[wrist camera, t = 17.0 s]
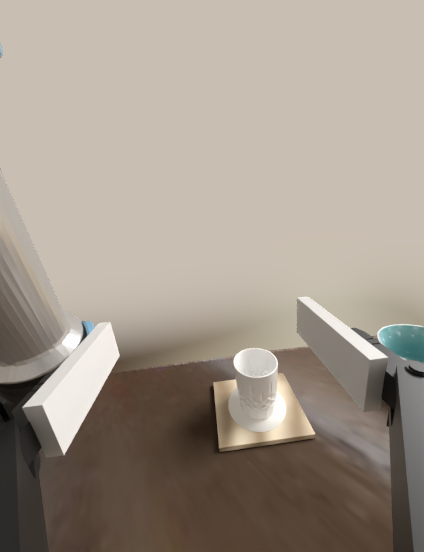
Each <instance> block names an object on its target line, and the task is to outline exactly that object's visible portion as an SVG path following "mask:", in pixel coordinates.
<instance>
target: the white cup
mask: <svg viewBox="0 0 424 552" xmlns="http://www.w3.org/2000/svg"><path fill="white" fill-rule="evenodd" d="M233 364H234V371H235V377H236V384H237V389H238V394H239V398H240V405H241V408H242V410H243V412H244V413H245V414H246V415H248V416H249V417H250V418H254V419H257V420H261V419H267V418H268V417H270V416H271V415H273V413H274V411H275V409H276V396H277V375H278V362H277V359H276V357H275V356H274V355H273V354H272V353H271V352H269V351H267V350H264V349H260V348H249V349H245V350H242V351H240V352H239V353H238V354H237V355H236V356H235V357H234V360H233Z"/></svg>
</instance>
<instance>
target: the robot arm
mask: <svg viewBox="0 0 424 552" xmlns="http://www.w3.org/2000/svg"><path fill="white" fill-rule="evenodd" d="M1 56H2V48H1V45H0V58H1ZM297 332H298V334H299V335H300V336H301V337H302V339H303V340H304V341H305V342H306V343H307V345H308V346H309V347H310V348H311V349H312V351H313V352H314V353H315V354H316V355H317V357H318V358H319V359H320V360H321V361H322V363H323V364H324V365H325V366H326V367H327V369H328V370H329V371H330V372H331V373H332V375H333V376H334V377H335V378H336V379H337V381H338V382H339V383H340V384H341V386H342V387H343V388H344V389H345V390H346V392H347V393H348V394H349V395H350V396H351V398H352V399H353V400H354V401H355V402H356V404H357V405H358V406H359V407H360V408H361V410H362V411H363V412H368V411H375V410H380V409H381V402H382V399H383V400H384V401H385V402H386V403H387V404H388V405H389V406H390V408H389V414H388V420H387V426H388V427H389V435H390V463H391V490H392V518H393V546H394V552H424V363H421V362H418V361H414V360H404V359H402V358H401V357H400V356H398V355H397V354H395V353H394V352H393V351H391V350H390V349H388V348H387V347H386V346H384V345H383V344H380V342H379V341H377V340H376V339H374V338H373V337H372V336H370V335H369V334H367V333H365V332H364V331H362V330H359V329H357V328H349V327H348V326H346V325H345V324H344V323H342V322H341V321H340V320H338V319H337V318H336V317H334V316H333V315H332V314H330V313H329V312H328V311H326V310H325V309H324V308H322V307H321V306H320V305H318V304H317V303H316V302H315V301H313V300H312V299H311V298H309V297H299V298H297ZM119 356H120V355H119V352H118V348H117V345H116V341H115V337H114V334H113V331H112V326H111V323H110V322H104V323H99V324H98V325H97V326H96V327H94V325H93V323H92V322H90V321H86V322H85V321H82V322H80V320H79V319H78V318H77V316H75V315H74V314H72V313H69V312H67V311H63V310H62V308H61V305H60V304H59V301H58V299H57V296H56V294H55V292H54V290H53V287H52V285H51V283H50V281H49V278H48V277H47V274H46V272H45V269H44V267H43V265H42V263H41V261H40V258H39V256H38V254H37V251H36V249H35V247H34V244H33V242H32V240H31V238H30V235H29V233H28V231H27V229H26V227H25V224H24V222H23V220H22V217H21V215H20V213H19V211H18V208H17V206H16V204H15V202H14V199H13V197H12V195H11V193H10V191H9V188H8V186H7V184H6V181H5V179H4V177H3V175H2V172H1V170H0V552H49V550H48V542H47V535H46V527H45V519H44V511H43V504H42V496H41V488H40V481H39V473H38V472H39V468H40V456H39V454H38V452H39V450H40V449H42V451H43V453H44V455H45V457H46V458H48V457H55V456H62V455H64V454H65V453H66V451H67V449H68V447H69V445H70V444H71V442H72V440H73V438H74V436H75V435H76V433H77V431H78V429H79V427H80V426H81V424H82V422H83V420H84V418H85V417H86V415H87V413H88V411H89V410H90V408H91V406H92V404H93V402H94V401H95V399H96V397H97V395H98V393H99V392H100V390H101V388H102V386H103V384H104V383H105V381H106V379H107V377H108V375H109V374H110V372H111V370H112V368H113V366H114V365H115V363H116V361H117V359H118V357H119Z"/></svg>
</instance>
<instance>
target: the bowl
mask: <svg viewBox="0 0 424 552" xmlns="http://www.w3.org/2000/svg"><path fill="white" fill-rule="evenodd" d="M377 339H378V341H379V342H380V344H383V345H384V346H386V347H387V348H388V349H390V350H391V351H393V352H394V353H395V354H397V355H398V356H400V357H401V358H402V359H404V360H414V361H418V362H421V363H424V327H423V326H417V325H408V324H397V325H389V326H386V327H383V328H381V329H380V330H379V331H378V333H377Z"/></svg>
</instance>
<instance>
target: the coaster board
mask: <svg viewBox="0 0 424 552" xmlns="http://www.w3.org/2000/svg"><path fill="white" fill-rule="evenodd" d="M213 384H214V395H215V406H216V418H217V429H218V441H219V451H220V452H224V451H231V450H237V449H244V448H251V447H258V446H265V445H272V444H278V443H285V442H292V441H299V440H306V439H313V438H315V433H314V431H313V429H312V427H311V425H310V423H309V421H308V419H307V417H306V416H305V414H304V412H303V410H302V408H301V406H300V404H299V402H298V400H297V399H296V397H295V395H294V393H293V391H292V389H291V387H290V385H289V383H288V382H287V380H286V378H285V376H284V374H283V373H279V374H278V375H277V396H276V409H275V411H274V413H273V415H271V416H270V417H268V418H267V419H261V420H257V419H254V418H250V417H249V416H248V415H246V414H245V413H244V412H243V410H242V408H241V405H240V398H239V394H238V389H237V384H236V380H228V381H221V382H214V383H213Z"/></svg>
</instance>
